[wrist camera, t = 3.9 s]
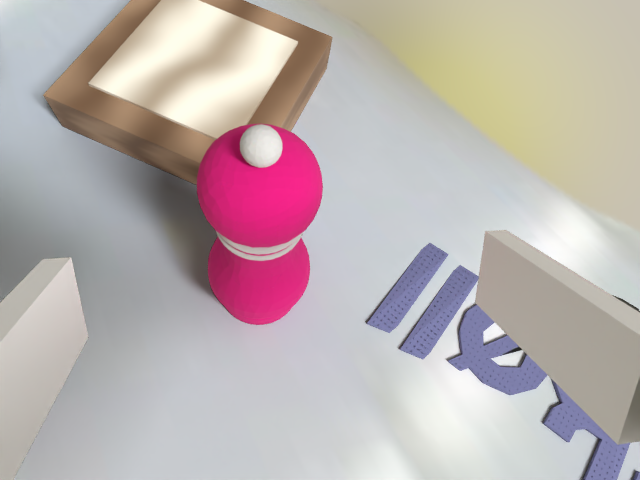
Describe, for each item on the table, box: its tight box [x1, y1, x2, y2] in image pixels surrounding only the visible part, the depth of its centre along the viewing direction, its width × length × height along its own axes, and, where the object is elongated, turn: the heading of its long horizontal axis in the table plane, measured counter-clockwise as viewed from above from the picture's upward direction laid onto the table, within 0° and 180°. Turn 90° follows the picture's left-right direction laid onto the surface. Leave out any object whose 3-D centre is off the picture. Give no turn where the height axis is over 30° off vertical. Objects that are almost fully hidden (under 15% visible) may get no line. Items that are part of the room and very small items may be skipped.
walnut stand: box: [43, 0, 332, 185], centre depth 41 cm, size 18×18×4 cm
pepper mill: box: [197, 124, 323, 325], centre depth 27 cm, size 7×7×20 cm
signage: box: [367, 243, 640, 480], centre depth 36 cm, size 28×1×10 cm
